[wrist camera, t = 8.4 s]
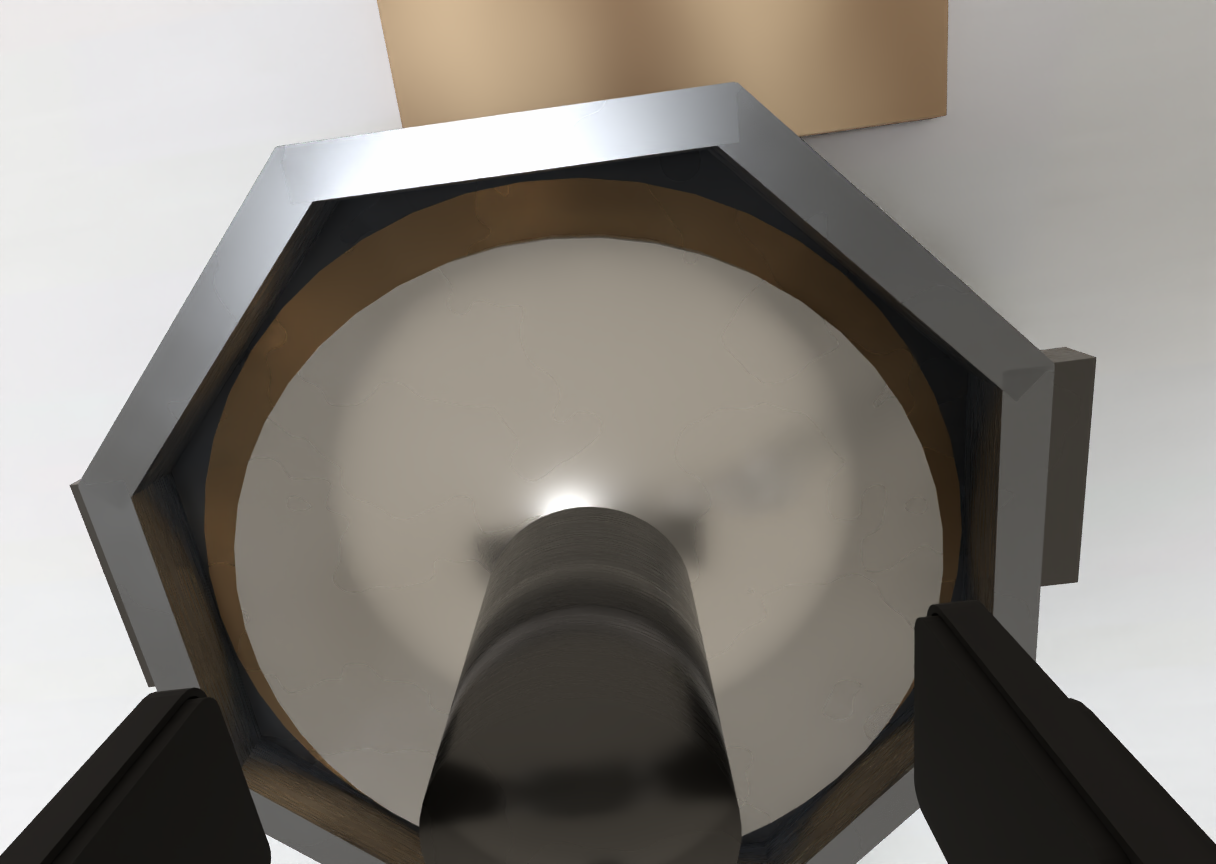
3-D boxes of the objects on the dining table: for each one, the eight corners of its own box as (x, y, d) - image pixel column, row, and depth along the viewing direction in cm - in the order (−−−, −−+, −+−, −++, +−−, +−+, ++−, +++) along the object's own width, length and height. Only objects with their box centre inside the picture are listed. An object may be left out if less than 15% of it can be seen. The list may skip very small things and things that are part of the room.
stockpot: (935, 98, 20) (1255, 8, 10) (929, 611, 25) (1139, 884, 15) (186, 202, 20) (-193, 213, 11) (328, 679, 25) (156, 979, 16)
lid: (1047, 586, 14) (1352, 860, 8) (579, 913, 17) (565, 1290, 11) (608, 59, 11) (612, -79, 5) (124, 556, 14) (-217, 817, 8)
